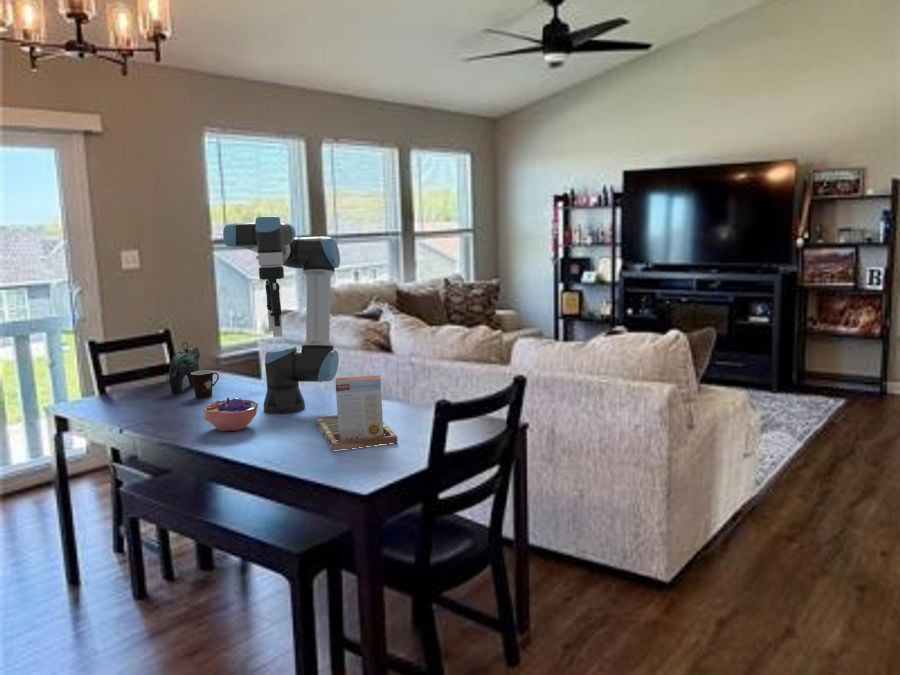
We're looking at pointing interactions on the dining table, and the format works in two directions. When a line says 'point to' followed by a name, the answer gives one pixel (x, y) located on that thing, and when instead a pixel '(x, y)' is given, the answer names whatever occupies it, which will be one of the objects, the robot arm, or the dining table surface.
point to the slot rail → (332, 438)
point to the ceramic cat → (183, 367)
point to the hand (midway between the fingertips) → (275, 333)
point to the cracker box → (359, 408)
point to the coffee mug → (203, 383)
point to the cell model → (230, 413)
